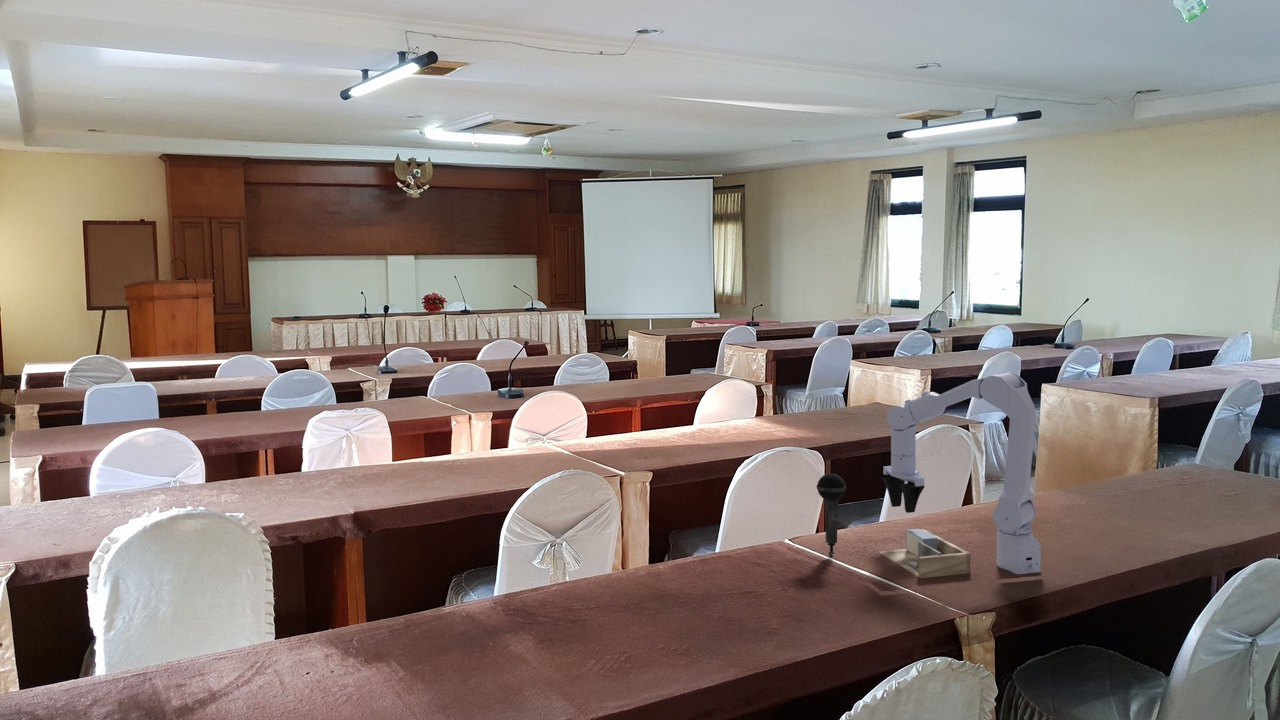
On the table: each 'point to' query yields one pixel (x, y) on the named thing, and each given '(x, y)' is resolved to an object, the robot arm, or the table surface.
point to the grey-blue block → (919, 540)
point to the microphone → (831, 504)
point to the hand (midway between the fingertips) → (903, 509)
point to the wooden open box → (933, 559)
